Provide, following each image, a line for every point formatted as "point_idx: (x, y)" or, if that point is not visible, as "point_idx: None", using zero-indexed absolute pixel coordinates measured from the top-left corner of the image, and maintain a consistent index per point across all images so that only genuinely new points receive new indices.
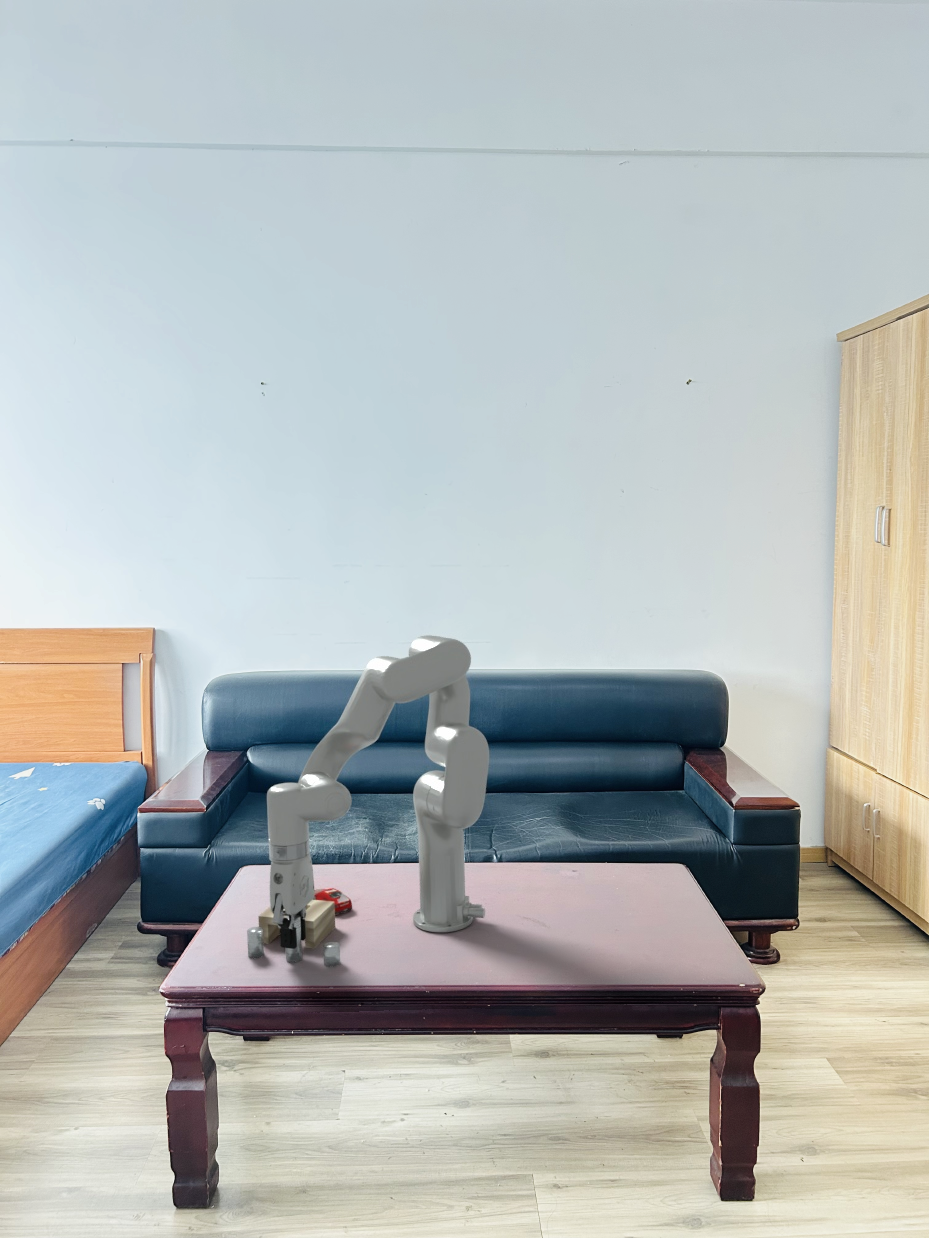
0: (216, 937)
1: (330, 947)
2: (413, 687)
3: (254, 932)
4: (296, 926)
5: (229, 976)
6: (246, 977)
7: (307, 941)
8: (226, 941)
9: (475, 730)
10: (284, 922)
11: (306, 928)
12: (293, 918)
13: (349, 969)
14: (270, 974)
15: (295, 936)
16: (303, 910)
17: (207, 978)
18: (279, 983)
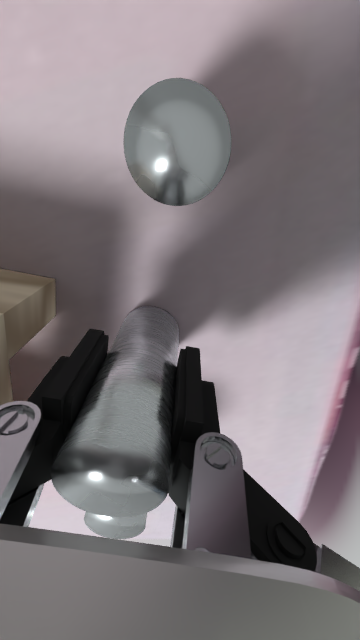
0: (54, 524)
1: (207, 147)
2: None
3: (137, 520)
4: (156, 418)
5: (263, 463)
6: (275, 428)
7: (43, 316)
8: (69, 506)
9: None
10: (312, 546)
11: (10, 349)
12: (202, 502)
13: (251, 25)
14: (263, 375)
15: (201, 383)
16: (3, 464)
17: None
18: (335, 334)
